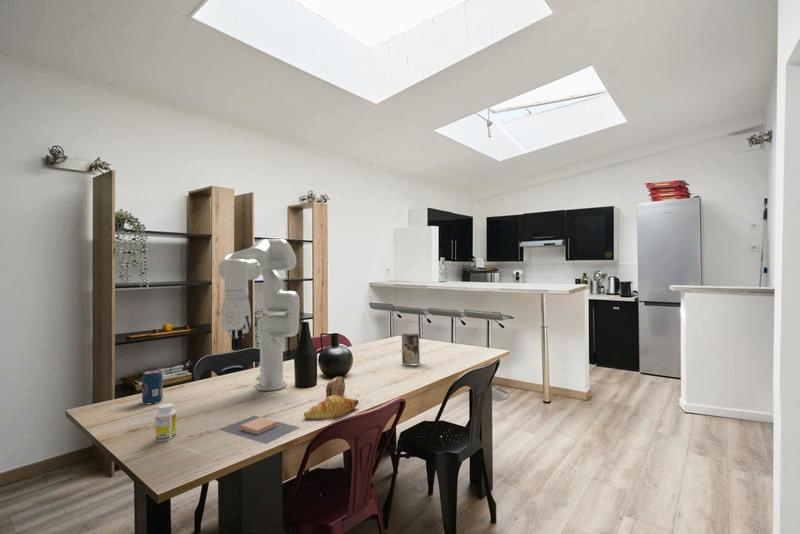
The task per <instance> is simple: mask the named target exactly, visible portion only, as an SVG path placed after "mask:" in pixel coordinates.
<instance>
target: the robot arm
mask: <svg viewBox="0 0 800 534" xmlns="http://www.w3.org/2000/svg"><path fill="white" fill-rule="evenodd" d="M296 266H297V256H296V254H295V251H294V250H293V247H292V245H291V244H290V243H289V242H288V240H286V239H285V238H284V239H283V238H262V239H260V240H257V241H256V242H255V243H254V244H252V246H250V247H248V248H245V249H242V250H239V251H235V252H232V253H230V254H227V255H226V256H225V257H223V258H222V260H220V262H219V265H218V268H217V269H218V271H217V272H218V275H219V277H220V278H221V279H223V281H224V283H223V284H224V286H223V287H224V299H223V301H222V307H221V318H220V319H221V321H220V323H221V324H220V325H221V328H222V329H224V330H225V331H226V332H228V333H229V338H230V340H231V342H230V343H231V344H230V345H231V350H232V351H239V350H243V347H244V345H243V341H244V340H243V338H244V336H245V334H247V333H249V332H250V330H249V329H250V328H251V326H252V316H251V315H252V314H251V313H252V312H251V304H250V300H249V281H253V280H257V279H258V278H260V276H262V280H263V291H262V293H263V294H262V308H263V310H264V311H265V312H268V313H287V314H288V315H287V314H267V315H264V316H261V317H260V318H259V319H258V320H257V331H258V337H259V366H260V368H259V370H260V371H259V374H258V376H257V377H256V378H255V380H256V381H258V384H257V385H256V389H257V390H258V391H262V392H263V391H264V392H270V391H272V392H273V391H278V390H282V389H284V388H286V387H287V385H288V384H287V381H284V372H283V371H284V369H283V368H284V367H283V366H284V365H283V364H284V363H283V361H284V358H283V355H284V354H283V351H284V348H283V344H282V342H281V340H280V339H279V338H281V337H282V338H283V337H284V338H285V337H287V338H288V337H290V338H291V337H295V336H297V335H298V333H299V328H300V309H301V307H300V305H301V304H300V302H301V301H300V296H299V294H298V292H296V291H294V290H284V279H283V277H282V275H281V274H280V273H279V272H278V271H291V270H294V269H295V268H296Z"/></svg>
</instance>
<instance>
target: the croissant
mask: <svg viewBox="0 0 800 534" xmlns="http://www.w3.org/2000/svg"><path fill="white" fill-rule="evenodd" d="M358 404H359V400H358V399H356V398H355V399H353V398H347V397H345V396H343V397H341V396H339V395H331V396H329V397H326V398H324V400H322V401H319V402H318V403H317V404H316V405H314V406H312V407H310V408H309V409H308V410H307V411H305V412H304V413H303V418H305V419H308V420H322V419H323V420H325V419H334V418H339V417H341V416H343V415H345V414H347V413H349V412H351V411H353V410H354V409H355V408H356V407H357V406H358Z"/></svg>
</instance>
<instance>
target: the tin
mask: <svg viewBox="0 0 800 534" xmlns="http://www.w3.org/2000/svg"><path fill="white" fill-rule="evenodd" d="M345 388H346V384H345V378H344V376H336V377H334V378H333V379H331V380H330V381H329V382H328V383H327V385H326V389H325V395H326V396H325V397H326V398H327V397H329V396H331V395H339V396H341V397H344V394H345V390H346V389H345Z"/></svg>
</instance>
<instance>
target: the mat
mask: <svg viewBox="0 0 800 534" xmlns="http://www.w3.org/2000/svg"><path fill="white" fill-rule="evenodd" d="M260 417H261V416H258V415H252V416H250V417H247V418H244V419H242V420H239V421H237V422H235V423H232V424H229V425H227V426H225V427H221V428H219V431H223V432H226V433H229V434H232V435H235V436H239V437H243V438H245V439H249V440H252V441H255V442H259V443H261V444H265V445H267V444H269V443H271V442H273V441H276V440H278V439H279V438H282V437H283V436H286V435H287V434H290V433H292V432H294V431H296V430H298V429H301V428H300V427H299V426H296V425H292V424H288V423H284V422H280V421H277V426H276V427H274V428H272V429H270V430H268V431H265V432H263V433H261V434H259V435H256V434H253V433H250V432H246V431H243V430H241V425H243V424H245V423H247V422H250V421H252V420H255V419H257V418H260Z"/></svg>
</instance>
